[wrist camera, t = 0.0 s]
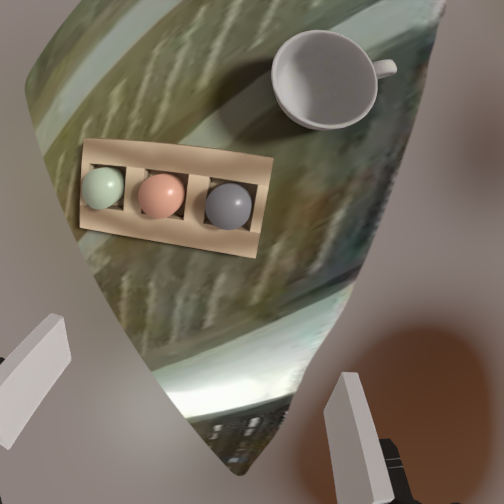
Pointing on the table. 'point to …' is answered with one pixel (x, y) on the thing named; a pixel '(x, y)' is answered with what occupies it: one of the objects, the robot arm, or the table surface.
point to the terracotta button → (161, 195)
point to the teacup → (326, 80)
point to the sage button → (103, 187)
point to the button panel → (197, 191)
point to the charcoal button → (228, 206)
